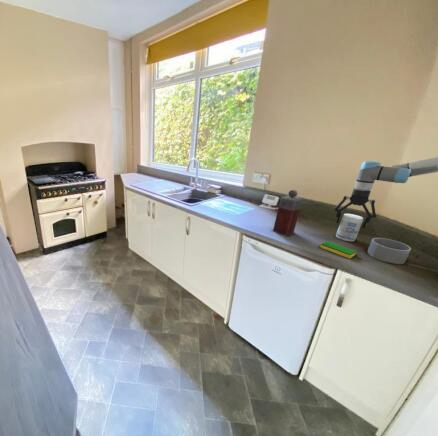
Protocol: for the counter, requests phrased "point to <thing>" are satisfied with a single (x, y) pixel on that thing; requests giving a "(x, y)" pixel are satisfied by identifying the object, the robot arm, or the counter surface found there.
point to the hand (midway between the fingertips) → (350, 224)
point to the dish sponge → (338, 249)
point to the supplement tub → (349, 227)
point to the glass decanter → (287, 213)
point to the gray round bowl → (388, 250)
